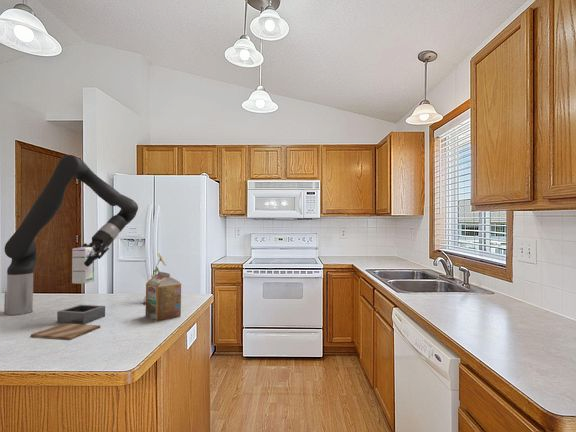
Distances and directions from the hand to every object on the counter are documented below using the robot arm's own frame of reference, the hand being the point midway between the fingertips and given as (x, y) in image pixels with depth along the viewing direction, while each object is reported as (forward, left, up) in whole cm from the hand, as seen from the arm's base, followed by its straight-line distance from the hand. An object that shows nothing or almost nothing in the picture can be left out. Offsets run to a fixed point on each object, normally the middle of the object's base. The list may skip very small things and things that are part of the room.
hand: (79, 264), depth 140 cm
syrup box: (0, +1, -8) cm, 8 cm away
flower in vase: (+12, +36, -23) cm, 45 cm away
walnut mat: (+7, -14, -23) cm, 28 cm away
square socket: (0, +1, -23) cm, 23 cm away
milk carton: (+30, +12, -23) cm, 40 cm away
